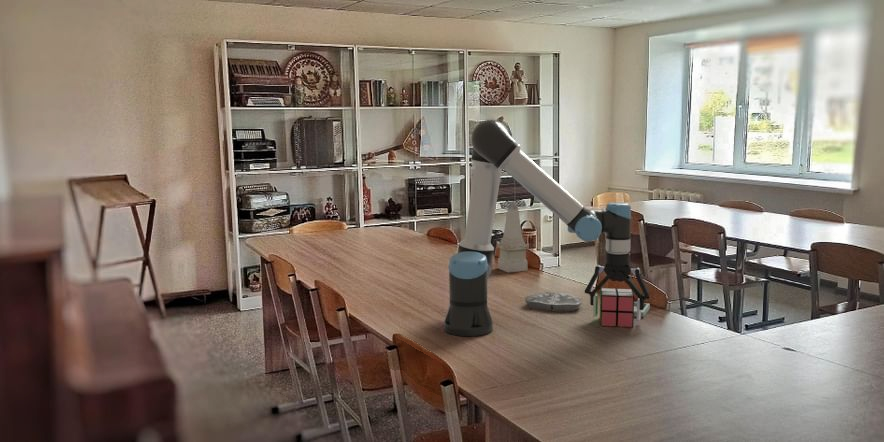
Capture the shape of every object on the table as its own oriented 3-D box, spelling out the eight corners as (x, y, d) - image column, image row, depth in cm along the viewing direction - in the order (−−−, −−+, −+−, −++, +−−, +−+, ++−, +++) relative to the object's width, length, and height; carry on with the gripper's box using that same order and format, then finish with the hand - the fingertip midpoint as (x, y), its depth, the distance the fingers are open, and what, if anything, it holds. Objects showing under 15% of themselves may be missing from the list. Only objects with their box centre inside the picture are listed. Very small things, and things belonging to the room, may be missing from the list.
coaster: (643, 317, 226) (643, 312, 226) (606, 313, 231) (606, 308, 231) (649, 308, 237) (649, 303, 237) (614, 305, 242) (614, 300, 242)
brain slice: (584, 302, 248) (584, 294, 247) (580, 314, 231) (580, 306, 231) (529, 299, 253) (529, 291, 252) (522, 311, 237) (522, 302, 236)
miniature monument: (529, 270, 300) (529, 201, 296) (507, 272, 296) (507, 203, 292) (517, 266, 310) (518, 199, 306) (496, 268, 306) (496, 200, 302)
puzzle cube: (633, 328, 215) (634, 296, 214) (600, 326, 217) (601, 295, 216) (631, 319, 225) (632, 289, 224) (599, 317, 227) (600, 287, 226)
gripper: (660, 252, 216) (659, 318, 219) (581, 247, 227) (580, 310, 230) (657, 256, 209) (655, 324, 212) (575, 251, 220) (575, 316, 223)
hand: (616, 317), depth 221 cm, fingers open, 13 cm apart
